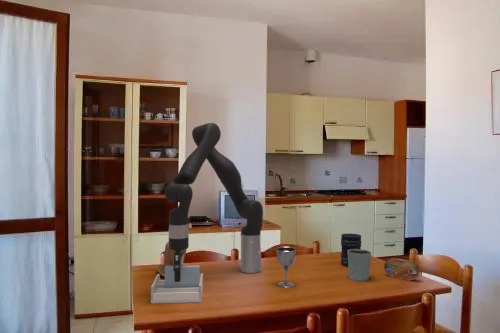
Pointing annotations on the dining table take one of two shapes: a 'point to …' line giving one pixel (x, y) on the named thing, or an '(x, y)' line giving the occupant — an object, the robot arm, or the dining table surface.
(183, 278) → the blue-grey rectangular slab
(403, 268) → the tin
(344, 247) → the storage jar
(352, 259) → the grey tapered cup
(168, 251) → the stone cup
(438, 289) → the dining table surface
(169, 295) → the dish rack
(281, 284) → the wine glass
